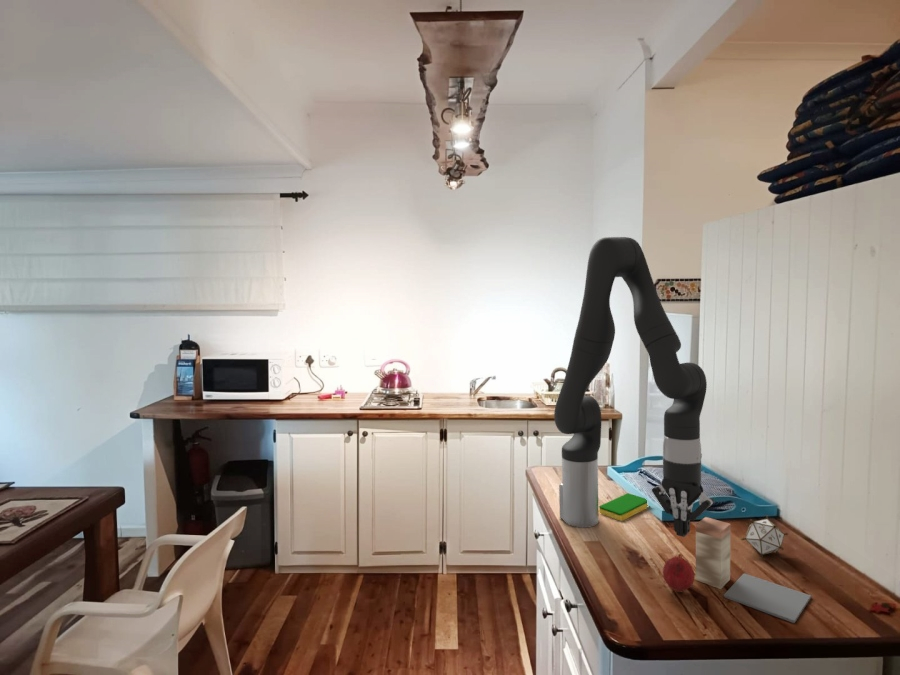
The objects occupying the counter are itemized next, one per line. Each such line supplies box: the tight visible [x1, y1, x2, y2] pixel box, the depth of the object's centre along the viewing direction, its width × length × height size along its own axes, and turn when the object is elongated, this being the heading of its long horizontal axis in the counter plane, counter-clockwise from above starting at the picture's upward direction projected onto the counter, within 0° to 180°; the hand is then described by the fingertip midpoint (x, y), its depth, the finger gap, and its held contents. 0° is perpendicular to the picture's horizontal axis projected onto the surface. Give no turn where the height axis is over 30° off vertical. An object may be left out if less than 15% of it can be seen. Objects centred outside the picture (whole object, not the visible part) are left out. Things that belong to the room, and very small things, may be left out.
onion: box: [662, 552, 695, 593], centre depth 107 cm, size 6×6×8 cm
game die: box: [740, 515, 789, 559], centre depth 120 cm, size 9×8×10 cm
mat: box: [723, 572, 812, 624], centre depth 104 cm, size 12×11×1 cm
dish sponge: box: [598, 492, 648, 522], centre depth 147 cm, size 7×14×2 cm, turn 128°
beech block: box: [695, 516, 732, 590], centre depth 110 cm, size 5×5×12 cm
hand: (682, 534), depth 115 cm, fingers closed
